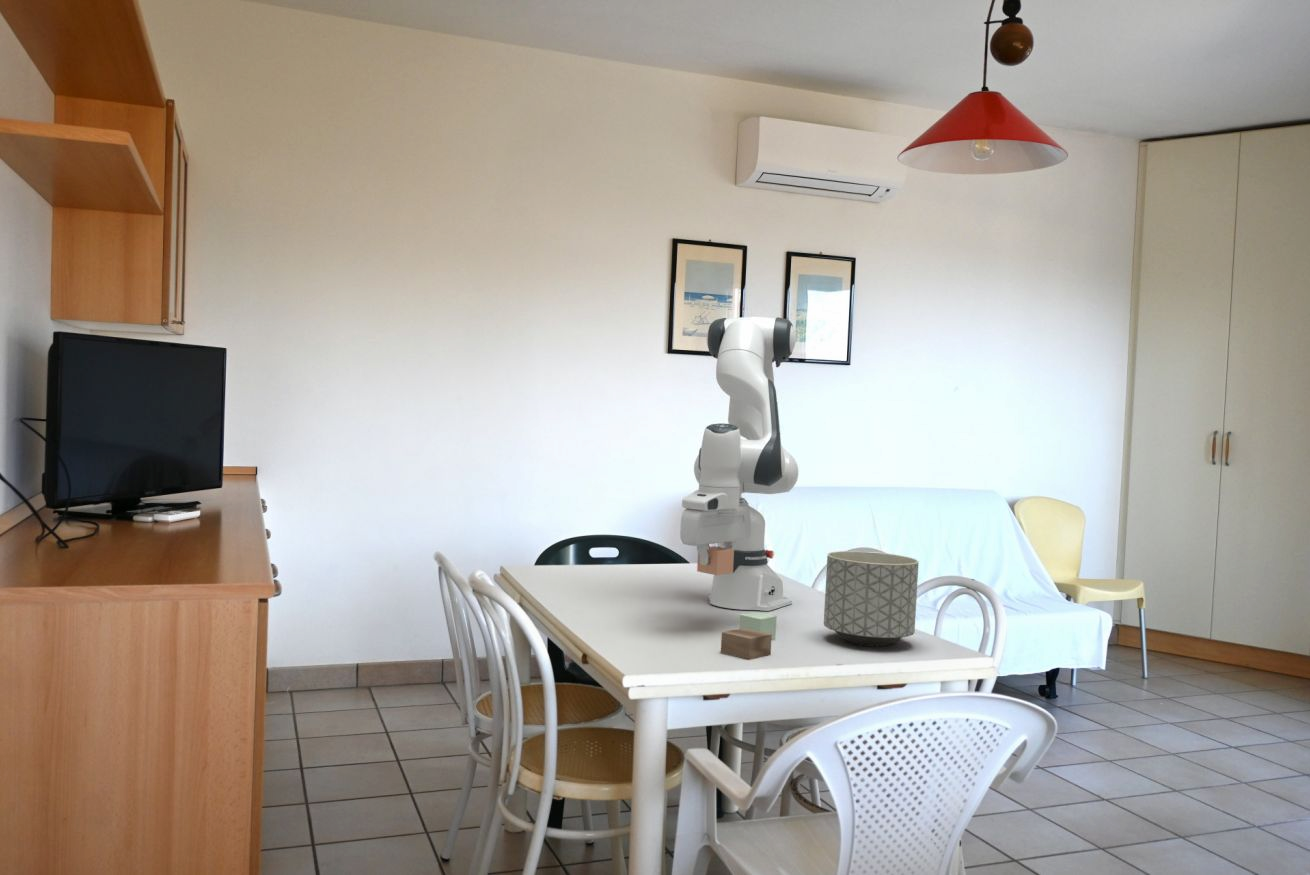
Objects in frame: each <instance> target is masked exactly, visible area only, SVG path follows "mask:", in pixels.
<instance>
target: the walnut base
mask: <svg viewBox="0 0 1310 875" xmlns="http://www.w3.org/2000/svg"><path fill="white" fill-rule="evenodd" d="M771 639H772V634H768V633H764V632H759V631H755V630H751V629H746V628H740V629H739V628H736V629H731V630H726V631H721V641H720V653H722V654H726V655H729V656H734V657H737V658H741V659H746V660H753V659H758V658H761V657H765V656H770V655H772V640H771Z"/></svg>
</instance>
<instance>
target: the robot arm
mask: <svg viewBox="0 0 1310 875" xmlns="http://www.w3.org/2000/svg"><path fill="white" fill-rule="evenodd" d="M796 336H797V334H796V331H795V329H794V324H793V323H792V322H791V321H790V320H789V319H786V318H784V317H783V318H782V317H776V318H775V317H774V318H773V317H769V316H756V315H754V316H752V315H751V316H748V317H747V316H743V317H732V318H731V317H730V318H727V317H722V318H717V319H715V320H713V322H711V323H710V324H709V326H708V330H707V333H706V345H707V348H708V352H709V354H710V355H711V356H712V357H713V358H715V359H717V360H716V366H715V368H716V369H715V370H716V371H715V375H716V376H715V378H716V382H717V384H718V386H719V388H720V389H721V390H722V392H724V393H725V394H726V395H727V396H729V404H728V414H727V415H728V416H727V423H712V424H709V425H707V426H705V428H704V431H703V436H702V441H701V447H700V448H699V452H698V455H697V456H696V459H695V462H694V464H693V472H694V478H695V480H696V481H697V483H698V489H696V490H695V491H694V492H692V493H690V494H688V495H687V496H684V497H683V498H682V501H681V508H684V510H683V511H682V513H681V517H680V532H679V533H680V536H679V538H680V540H681V543H682V544H683V545H687V546H691V547H692V546H693V547H695V546H696V550H697V554H698V553H699V555H700V564H701V565H709V564H710V563H711V561H710V560H711V557H710V556H708V553H707V549H708V548H709V547H710V545H711V544H712V545H713V544H719V545H718V547H721V548H726V549H732V550H734V562H733V573H729V574H723V575H713V578H712V584H711V592H710V594H708V597H707V599H708V600H709V604H711V605H713V606H717V607H720V608H724V609H733V610H741V611H742V610H745V611H747V610H750V611H761V612H768V611H769V612H770V611H773V610H776V609H779V608H782V607H785V606H788V605H791V604H793V600H792V599H791V598H788V597H786V596H784V585H783V584H784V583H783V580H782V578H781V577H780V576H779V575H778V574H777V573H776V572H775V571H774V570H773V569H772V568H771V567H770V566H769V565H768V563H769V561H768V559H774V556H775V552H774V550H769V549H765V534H766V532H765V531H766V520H765V518H764V516H763V514H762V513H761V512H760V511H759V510H757V509H755V508H754V507H752V506H751V505H749V502H748V501H747V500H746V498H745V497H742V494H744V493H748V494H762V495H774V494H775V495H776V494H784V493H789V492H790V491H791V490H793V488H794V487H795V485H796V483H797V481H798V478H799V467H798V463H797V461H796V459H795V458H794V457H793V455H792V454H791V453H790V452H788V451H787V450H786V449H785V448H784V447H783V446H782V441H781V440H782V438H781V428H780V417H779V416H780V414H779V405H778V403H779V402H778V400H777V399H778V398H777V390H776V387H775V378H774V376H775V374H774V368H773V363H774V362H775V367H776V368H779V367H780V366H781V364H782V363H784V362H785V361H787V360H788V359H789V358H790V357H791V356H792V354H793V351H794V348H795V346H796V342H797V337H796ZM741 437H743V438H745V439H742V438H741Z"/></svg>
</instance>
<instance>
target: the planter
mask: <svg viewBox="0 0 1310 875" xmlns="http://www.w3.org/2000/svg"><path fill="white" fill-rule="evenodd" d="M826 558H827V559H826V573H825V574H826V575H825V576H826V577H825V594H824V608H823V609H824V610H823V612H824V613H823V626H824V627H825V628H827V629H828V630H832V631H834V632H835V633H836V634H837V635H838V636H839V637H841V638H842V639H844V640H845V641H848V642H850V643H852V644H855V645H860V646H866V647H883V646H884V647H885V646H888V645H891V644H894V643H897V642H898V641H900V640H901V639H903V638H906V637H910V636H913V635H914V634H915V632H916V630H915V629H916V617H917V616H916V615H917V614H916V612H917V597H918V595H917V594H918V581H919V580H918V579H919V562H920V561H919V560H918V559H916V558H913V557H909V556H905V555H900V554H893V553H887V552H885V553H884V552H874V551H863V550H862V551H857V550H851V551H850V550H848V551H847V550H846V551H845V550H843V551H842V550H841V551H831V552H829V553H827V556H826Z"/></svg>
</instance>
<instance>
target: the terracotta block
mask: <svg viewBox="0 0 1310 875" xmlns="http://www.w3.org/2000/svg"><path fill="white" fill-rule="evenodd" d="M707 553H708V556H710V557H711V560H710V561H711V563H710V564H709V565H701V564H700V555H699V553H698V552H697V566H696V568H697V569H696V572H698V573H703V574H709V575H713V576H714V575H723V574H729V573H733V562H734V550H732V549H726V548H721V547H719V546H716V545H715V546H709V548H708V549H707Z"/></svg>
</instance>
